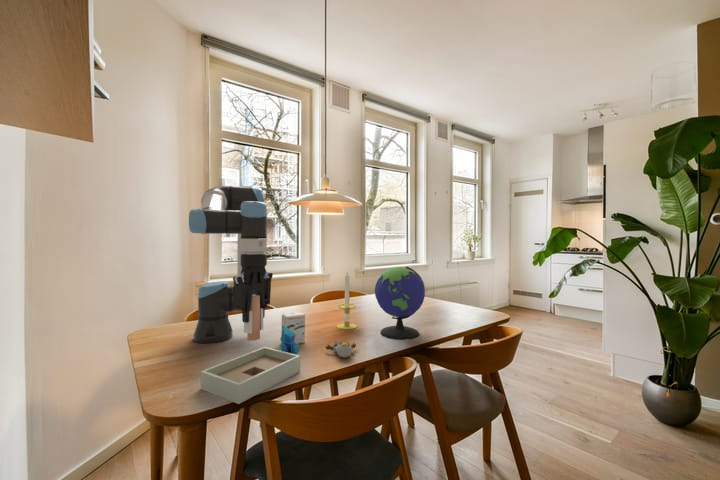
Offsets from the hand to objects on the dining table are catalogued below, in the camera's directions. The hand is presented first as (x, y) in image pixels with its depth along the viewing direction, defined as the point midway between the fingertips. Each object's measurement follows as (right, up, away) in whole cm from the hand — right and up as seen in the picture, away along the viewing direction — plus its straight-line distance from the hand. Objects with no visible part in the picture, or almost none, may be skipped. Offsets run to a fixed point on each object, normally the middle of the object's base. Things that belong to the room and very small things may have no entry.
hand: (253, 330), depth 98 cm
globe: (+50, -15, +48) cm, 70 cm away
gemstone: (+7, -15, +17) cm, 24 cm away
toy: (+25, -15, +24) cm, 38 cm away
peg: (0, -2, 0) cm, 2 cm away
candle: (+26, -14, +58) cm, 65 cm away
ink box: (+5, -15, +35) cm, 38 cm away
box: (0, -15, 0) cm, 15 cm away
